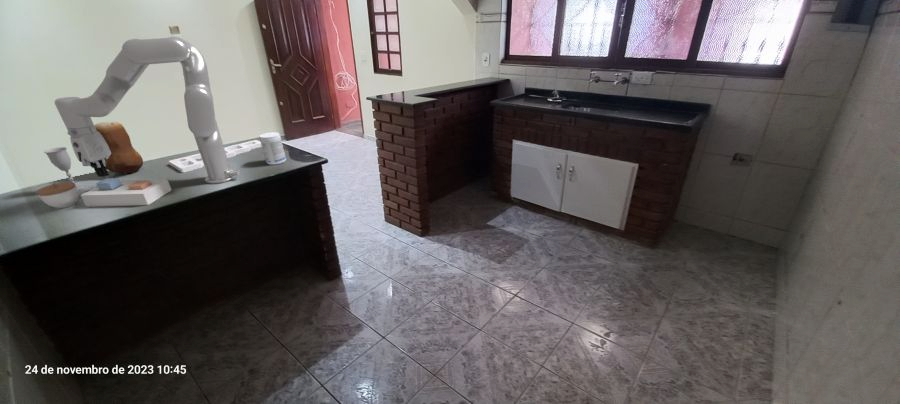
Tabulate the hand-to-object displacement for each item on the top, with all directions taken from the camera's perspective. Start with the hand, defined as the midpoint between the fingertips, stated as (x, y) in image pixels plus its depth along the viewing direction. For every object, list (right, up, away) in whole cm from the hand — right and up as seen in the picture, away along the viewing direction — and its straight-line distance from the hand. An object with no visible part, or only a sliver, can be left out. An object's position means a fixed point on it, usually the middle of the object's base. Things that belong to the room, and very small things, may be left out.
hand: (103, 175), depth 141 cm
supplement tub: (+49, +10, +42) cm, 65 cm away
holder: (+16, +14, +51) cm, 55 cm away
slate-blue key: (0, -5, +3) cm, 5 cm away
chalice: (-26, -5, +14) cm, 30 cm away
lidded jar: (-15, -12, 0) cm, 19 cm away
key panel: (+7, -9, +5) cm, 12 cm away
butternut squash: (-17, +3, +30) cm, 35 cm away
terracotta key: (+12, -6, +4) cm, 14 cm away
